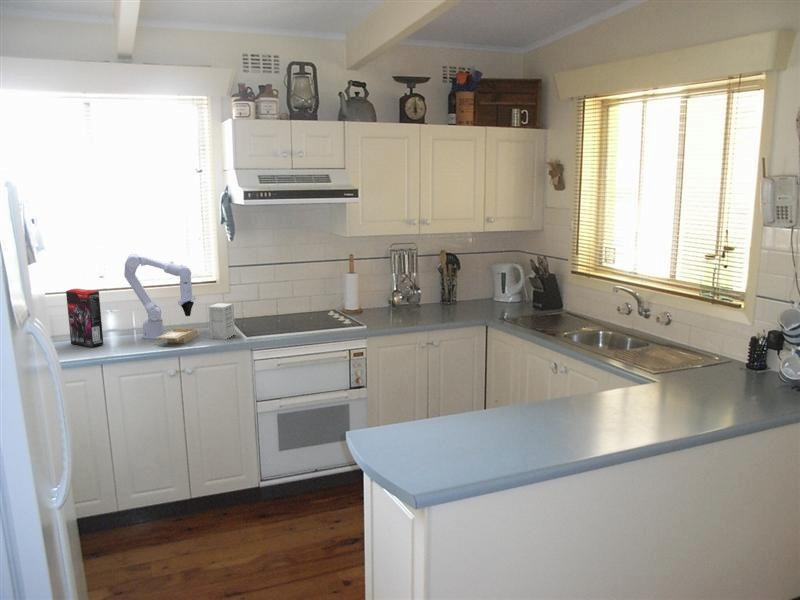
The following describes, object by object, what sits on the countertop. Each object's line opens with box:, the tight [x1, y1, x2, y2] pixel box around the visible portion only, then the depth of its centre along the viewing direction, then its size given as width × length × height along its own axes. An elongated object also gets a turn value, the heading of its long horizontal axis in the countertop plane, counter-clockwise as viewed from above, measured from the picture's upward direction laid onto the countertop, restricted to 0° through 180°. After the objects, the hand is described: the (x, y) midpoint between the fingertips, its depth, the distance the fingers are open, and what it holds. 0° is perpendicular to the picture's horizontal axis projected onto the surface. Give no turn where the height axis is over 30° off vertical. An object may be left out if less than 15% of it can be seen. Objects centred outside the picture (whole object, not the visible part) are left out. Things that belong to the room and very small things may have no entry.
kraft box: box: [167, 328, 199, 343], centre depth 336 cm, size 9×14×4 cm, turn 169°
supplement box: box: [208, 302, 236, 340], centre depth 341 cm, size 10×9×17 cm
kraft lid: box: [156, 327, 191, 341], centre depth 328 cm, size 10×14×3 cm
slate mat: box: [153, 334, 210, 347], centre depth 335 cm, size 19×22×1 cm
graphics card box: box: [65, 288, 104, 348], centre depth 327 cm, size 17×7×27 cm, turn 62°
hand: (187, 315), depth 346 cm, fingers closed
